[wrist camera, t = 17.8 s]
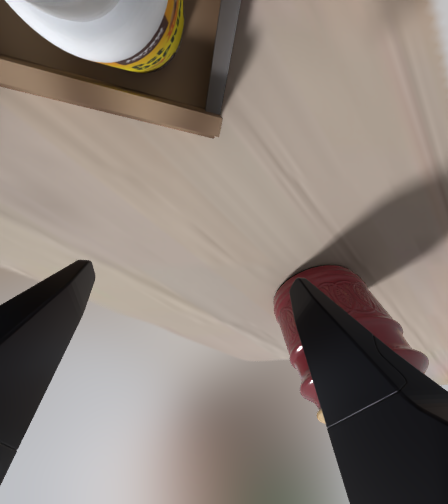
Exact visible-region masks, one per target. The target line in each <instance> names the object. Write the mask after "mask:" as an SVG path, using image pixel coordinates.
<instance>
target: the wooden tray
mask: <svg viewBox="0 0 448 504" xmlns="http://www.w3.org/2000/svg"><path fill="white" fill-rule="evenodd" d="M240 4H241V0H184V10H185V21H184V32H183V36H182V41H181V44H180V47H179V49H178V51H177V53H176V55H175V56H174V58H173V59H172V61H171V62H170V63H169V64H168V65H167V66H165V67H164V68H163V69H161V70H159V71H157V72H154V73H142V74H141V73H136V72H132V71H128V70H124V69H120V68H116V67H112V66H108V65H104V64H101V63H97V62H93V61H89V60H86V59H83V58H80V57H78V56H75V55H73V54H70V53H68V52H66V51H64V50H62V49H61V48H59V47H57V46H55V45H54V44H52V43H51V42H49V41H48V40H47V39H45V38H44V37H43V36H41V35H40V34H39V33H37V32H36V31H35V30H34V29H33V28H31V27H30V26H29V25H28V24H27V23H26V22H25V21H24V20H23V19H22V18H21V17H20V16H19V15H18V14H17V13H16V12H15V11H14V10H13V9H12V8H11V7H10V6H9V4H8V3H7V2H6V1H5V0H0V86H1V87H5V88H9V89H13V90H17V91H21V92H25V93H29V94H33V95H37V96H42V97H46V98H50V99H54V100H58V101H62V102H66V103H70V104H74V105H78V106H83V107H87V108H91V109H95V110H99V111H103V112H107V113H111V114H115V115H119V116H123V117H128V118H132V119H136V120H140V121H144V122H148V123H152V124H156V125H160V126H164V127H168V128H173V129H177V130H181V131H185V132H189V133H193V134H197V135H201V136H205V137H209V138H213V139H214V136H216V137H219V135H220V129H221V124H222V119H223V118H222V117H221V116H220V113H221V108H222V102H223V97H224V91H225V86H226V80H227V75H228V70H229V64H230V59H231V53H232V48H233V42H234V37H235V32H236V26H237V21H238V15H239V10H240Z"/></svg>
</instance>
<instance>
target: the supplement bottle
mask: <svg viewBox="0 0 448 504" xmlns="http://www.w3.org/2000/svg"><path fill="white" fill-rule="evenodd" d="M5 1H6V2H7V3H8V4H9V6H10V7H11V8H12V9H13V10H14V11H15V12H16V13H17V14H18V15H19V16H20V17H21V18H22V19H23V20H24V21H25V22H26V23H27V24H28V25H29V26H30V27H31V28H33V29H34V30H35V31H36V32H37V33H39V34H40V35H41V36H43V37H44V38H45V39H47V40H48V41H49V42H51V43H52V44H54V45H55V46H57V47H59V48H61V49H62V50H64V51H66V52H68V53H70V54H73V55H75V56H78V57H80V58H83V59H86V60H89V61H93V62H97V63H101V64H104V65H108V66H112V67H116V68H120V69H124V70H128V71H132V72H136V73H141V74H142V73H154V72H157V71H159V70H161V69H163V68H164V67H165V66H167V65H168V64H169V63H170V62H171V61H172V59H173V58H174V56H175V55H176V53H177V51H178V49H179V47H180V44H181V41H182V36H183V32H184V21H185V10H184V0H5Z"/></svg>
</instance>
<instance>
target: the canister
mask: <svg viewBox="0 0 448 504" xmlns="http://www.w3.org/2000/svg"><path fill="white" fill-rule="evenodd" d="M298 277H299V278H306V279H307V280H308V281H310V282H311V283H312V284H313V285H314V286H316V287H317V288H318V289H319V290H320V291H322V292H323V293H324V294H325V295H326V296H328V297H329V298H330V299H331V300H332V301H334V302H335V303H336V304H337V305H338V306H340V307H341V308H342V309H343V310H345V311H346V312H347V313H348V314H349V315H351V316H352V317H353V318H354V319H355V320H357V321H358V322H359V323H360V324H361V325H363V326H364V327H365V328H366V329H367V330H369V331H370V332H371V333H372V334H373V335H375V336H376V337H377V338H378V339H380V340H381V341H382V342H383V343H384V344H386V345H387V346H388V347H389V348H391V349H392V350H393V351H394V352H396V353H397V354H398V355H400V356H401V357H402V358H403V359H405V360H406V361H407V362H409V363H410V364H411V365H413V366H414V367H415V368H417V369H418V370H419V371H421V372H422V373H423V374H425V372H426V370H427V368H428V365H429V360H428V358H427V356H426V355H425V354H423V353H422V352H420V351H417V350H414V349H412V348H411V347H410V345H409V344H408V343H407V341H406V340H405V338H404V337H403V329H402V327H401V325H400V324H399V323H398V322H397V321H395V320H393V319H392V317H391V316H390V315H389V314H388V313H387V311H386V310H385V309H384V308H383V307H382V305H381V304H380V303H379V302H378V301H377V299H376V298H375V297H374V296H373V295H372V293H371V292H370V291H369V290H368V287H367V285H366V284H365V283H364V282H363V280H362V279H361V278H360V277H359V276H358V275H356V274H354V273H353V272H352V271H351V270H349V269H348V268H345V267H342V266H337V265H325V266H318V267H314V268H311V269H308V270H305V271H303V272H300V273H298V274H296V275H295V276H293V277H292V278H290V279H289V280H287V281H286V282H285V283H284V284H283V285H282V286H281V287H280V288H279V290H278V291H277V293H276V295H275V297H274V313H275V316H276V319H277V322H278V323H279V325H280V327H281V330H282V334H283V337H284V340H285V343H286V346H287V349H288V352H289V355H290V362H291V364H292V366H293V367H294V368H295V369H297V371H298V373H299V375H300V378H301V380H302V383H301V386H300V393H301V395H302V396H303V397H304V398H305V399H307V400H309V401H311V402H313V403H315V404H316V406H317V407H318V409H319V411H318V413H317V418H318V420H319V421H320V422H322V423H324V424H326V423H325V420H324V416H323V413H322V410H321V406H320V403H319V400H318V397H317V393H316V390H315V387H314V383H313V380H312V377H311V373H310V370H309V367H308V364H307V360H306V357H305V354H304V350H303V347H302V344H301V341H300V337H299V334H298V331H297V327H296V324H295V320H294V315H293V310H292V304H291V299H290V294H289V290H290V288H291V286H292V284H293V282H294V281H295V279H296V278H298Z"/></svg>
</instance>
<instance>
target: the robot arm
mask: <svg viewBox="0 0 448 504" xmlns="http://www.w3.org/2000/svg"><path fill="white" fill-rule="evenodd" d="M94 281H95V272H94V269H93V265H92V262H91V261H89V260H77V261H76V262H74V263H72V264H70V265H69V266H67V267H65V268H64V269H62V270H60V271H58V272H57V273H55V274H53V275H52V276H50V277H48V278H46V279H45V280H43V281H41V282H39V283H38V284H36V285H35V286H33V287H31V288H30V289H27V290H26V291H24V292H22V293H21V294H19V295H17V296H15V297H14V298H12V299H10V300H9V301H7V302H5V303H3V304H2V305H0V485H1V483H2V481H3V479H4V477H5V475H6V473H7V470H8V469H9V466H10V464H11V462H12V460H13V458H14V456H15V454H16V452H17V449H18V448H19V445H20V443H21V441H22V439H23V437H24V435H25V433H26V431H27V429H28V427H29V425H30V423H31V421H32V419H33V417H34V415H35V413H36V410H37V408H38V406H39V404H40V402H41V400H42V398H43V396H44V394H45V392H46V390H47V387H48V386H49V384H50V382H51V380H52V377H53V375H54V373H55V371H56V369H57V367H58V365H59V363H60V361H61V359H62V357H63V355H64V353H65V351H66V349H67V346H68V345H69V343H70V340H71V338H72V336H73V334H74V332H75V330H76V328H77V326H78V324H79V322H80V320H81V317H82V315H83V313H84V310H85V307H86V305H87V302H88V299H89V296H90V293H91V290H92V287H93V284H94ZM289 294H290V299H291V304H292V310H293V315H294V320H295V324H296V327H297V331H298V334H299V337H300V341H301V344H302V347H303V350H304V354H305V357H306V360H307V364H308V367H309V370H310V373H311V377H312V380H313V383H314V387H315V390H316V393H317V397H318V400H319V403H320V406H321V410H322V413H323V416H324V420H325V423H326V426H327V430H328V433H329V437H330V440H331V443H332V446H333V450H334V453H335V456H336V459H337V463H338V466H339V469H340V473H341V476H342V479H343V483H344V486H345V489H346V492H347V496H348V499H349V502H350V504H448V391H446V390H445V389H443V388H442V387H441V386H439V385H438V384H437V383H435V382H434V381H433V380H431V379H430V378H429V377H427V376H426V375H425V374H423V373H422V372H421V371H419V370H418V369H417V368H415V367H414V366H413V365H411V364H410V363H409V362H407V361H406V360H405V359H403V358H402V357H401V356H400V355H398V354H397V353H396V352H394V351H393V350H392V349H391V348H389V347H388V346H387V345H386V344H384V343H383V342H382V341H381V340H380V339H378V338H377V337H376V336H375V335H373V334H372V333H371V332H370V331H369V330H367V329H366V328H365V327H364V326H363V325H361V324H360V323H359V322H358V321H357V320H355V319H354V318H353V317H352V316H351V315H349V314H348V313H347V312H346V311H345V310H343V309H342V308H341V307H340V306H338V305H337V304H336V303H335V302H334V301H332V300H331V299H330V298H329V297H328V296H326V295H325V294H324V293H323V292H322V291H320V290H319V289H318V288H317V287H316V286H314V285H313V284H312V283H311V282H310V281H308V280H307V279H306V278H299V277H298V278H296V279H295V281H294V282H293V284H292V286H291V288H290V290H289Z"/></svg>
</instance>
